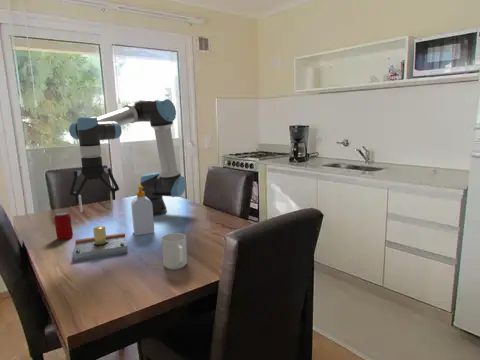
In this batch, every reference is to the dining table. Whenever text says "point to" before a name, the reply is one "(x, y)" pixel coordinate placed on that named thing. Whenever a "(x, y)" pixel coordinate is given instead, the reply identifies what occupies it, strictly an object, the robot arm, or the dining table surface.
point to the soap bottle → (142, 214)
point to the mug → (174, 251)
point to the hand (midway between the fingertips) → (97, 209)
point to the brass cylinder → (100, 236)
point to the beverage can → (63, 225)
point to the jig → (89, 250)
